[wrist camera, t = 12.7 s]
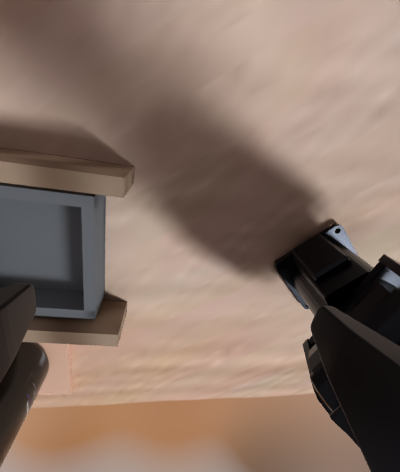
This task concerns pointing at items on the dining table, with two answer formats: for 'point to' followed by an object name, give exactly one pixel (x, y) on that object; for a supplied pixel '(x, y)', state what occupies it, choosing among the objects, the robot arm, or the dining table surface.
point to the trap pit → (54, 248)
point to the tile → (57, 370)
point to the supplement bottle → (20, 391)
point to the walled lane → (78, 180)
